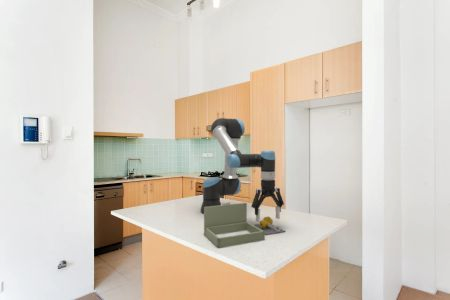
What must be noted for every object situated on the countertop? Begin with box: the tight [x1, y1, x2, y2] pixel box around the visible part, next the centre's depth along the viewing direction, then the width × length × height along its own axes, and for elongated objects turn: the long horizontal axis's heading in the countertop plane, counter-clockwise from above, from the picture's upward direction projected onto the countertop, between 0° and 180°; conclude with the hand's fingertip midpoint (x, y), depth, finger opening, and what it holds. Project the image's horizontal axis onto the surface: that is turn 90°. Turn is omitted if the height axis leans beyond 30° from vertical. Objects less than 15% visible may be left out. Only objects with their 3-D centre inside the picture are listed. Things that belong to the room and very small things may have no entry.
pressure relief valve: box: [259, 216, 281, 232], centre depth 131 cm, size 6×12×10 cm
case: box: [203, 201, 266, 249], centre depth 120 cm, size 18×24×15 cm
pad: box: [253, 223, 286, 236], centre depth 132 cm, size 16×12×1 cm
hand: (268, 219), depth 131 cm, fingers open, 12 cm apart
